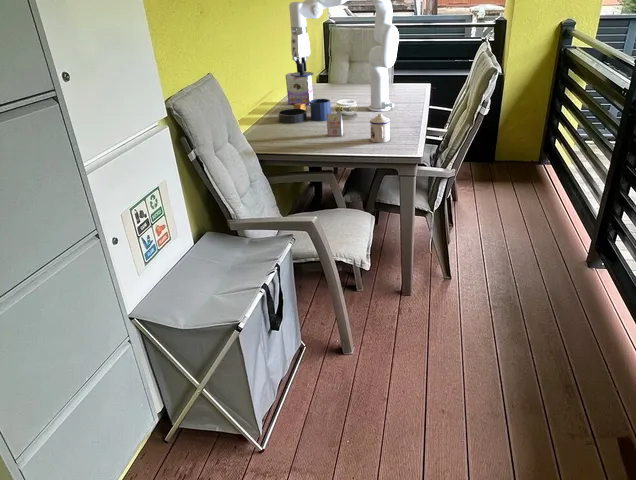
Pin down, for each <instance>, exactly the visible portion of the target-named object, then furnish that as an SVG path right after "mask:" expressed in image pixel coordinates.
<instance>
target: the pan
mask: <svg viewBox="0 0 636 480" xmlns="http://www.w3.org/2000/svg"><path fill="white" fill-rule="evenodd" d="M307 113H308V112H307V109H306V110H304V109H294V108H287V109H282V110H279V111H278V112H277V114H278V115H277V116H278V122H279V123H283V124H300V123H304V122H306V121H308V114H307Z"/></svg>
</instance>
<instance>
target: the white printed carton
mask: <svg viewBox="0 0 636 480" xmlns="http://www.w3.org/2000/svg"><path fill="white" fill-rule="evenodd" d="M343 125H344V124H343V115H342V113H331V114H327V120H326V128H327V137H343V134H344V128H343V127H344V126H343Z"/></svg>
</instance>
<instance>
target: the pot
mask: <svg viewBox="0 0 636 480" xmlns="http://www.w3.org/2000/svg"><path fill="white" fill-rule="evenodd" d="M309 108H310V109H309V110H310V119H311V120H312V121H314V122H325V121H326V122H327V114H332V109H331V100H330V99H328V98H313V100H311V101H310V105H309Z"/></svg>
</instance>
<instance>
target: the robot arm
mask: <svg viewBox="0 0 636 480" xmlns="http://www.w3.org/2000/svg"><path fill="white" fill-rule="evenodd" d="M348 1H349V0H304V1H292V2H289V4H288V8H289V10H288V11H289V22H290V32H291V33H290V34H291V35H290V51H291V59H292V61H294V62H295V64H296V72H300V73H302V72H303V66H302V64H301V63H304V72H308V71H307V62H308V61H307V60H308V58H309V57H310V55H311V44H310V39H309V34H308V30H307V29H308V28H307V19H312V20H316V19H319V18H320V17H322V15H323V11H324V10H326V9H328V8H332V7H338V6H341V5H343V4H346V2H348ZM370 1H371V2H372V4H373V6H374V9H375V19H374V27H373V39H374V41H375V42H376V43H379V44H380V45H375V46H373V47H371V49H370V50H369V53H368V64H369V71H370V75H369V76H370V105H368V106H367V109H368V111H372V112H387V111H390V110H391V108H394V107H395V103H394V102H391V100H390V99H389V70H388V69H390V68H392V67H393V66H394V64H395V63H396V60H397V54H398V47H399V42H400V41H399V40H400V33H399V31H398V28H397V27H396V25H394V24H393V14H394V13H393V4H392V2H391V0H370Z"/></svg>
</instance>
